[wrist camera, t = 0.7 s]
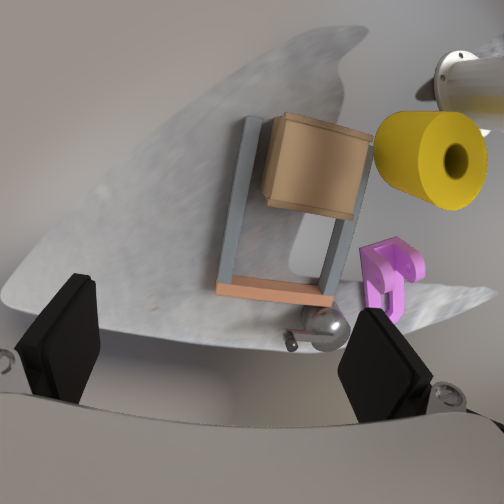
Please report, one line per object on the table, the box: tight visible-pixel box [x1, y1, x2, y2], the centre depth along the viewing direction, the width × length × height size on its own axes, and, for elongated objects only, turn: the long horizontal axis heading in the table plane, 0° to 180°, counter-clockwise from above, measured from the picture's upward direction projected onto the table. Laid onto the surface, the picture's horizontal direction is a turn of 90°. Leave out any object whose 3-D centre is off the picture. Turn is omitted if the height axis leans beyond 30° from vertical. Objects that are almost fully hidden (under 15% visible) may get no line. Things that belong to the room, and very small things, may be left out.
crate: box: [260, 112, 373, 221], centre depth 31 cm, size 8×8×7 cm
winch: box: [282, 301, 350, 352], centre depth 38 cm, size 9×5×8 cm, turn 79°
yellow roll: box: [374, 111, 487, 210], centre depth 30 cm, size 10×10×9 cm
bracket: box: [359, 236, 426, 324], centre depth 38 cm, size 13×6×7 cm, turn 15°
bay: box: [215, 116, 375, 307], centre depth 35 cm, size 14×20×2 cm
